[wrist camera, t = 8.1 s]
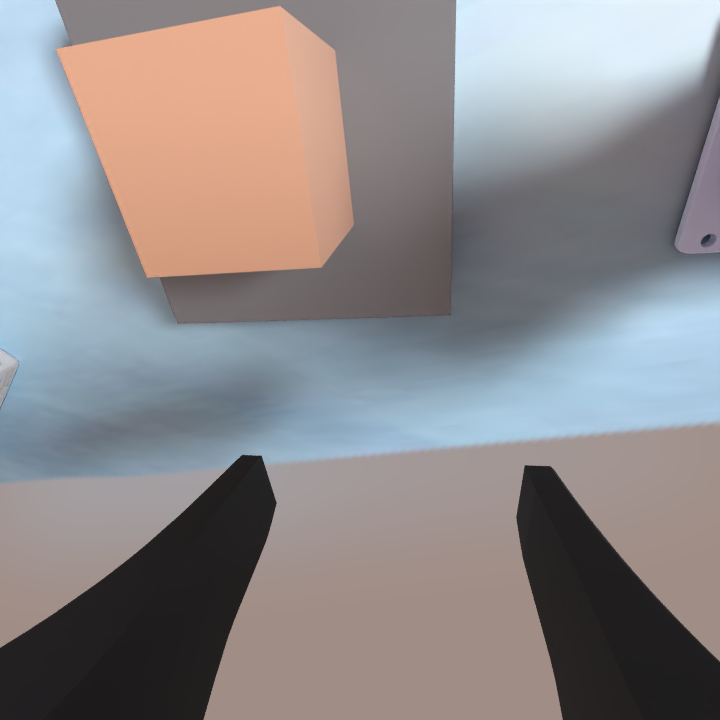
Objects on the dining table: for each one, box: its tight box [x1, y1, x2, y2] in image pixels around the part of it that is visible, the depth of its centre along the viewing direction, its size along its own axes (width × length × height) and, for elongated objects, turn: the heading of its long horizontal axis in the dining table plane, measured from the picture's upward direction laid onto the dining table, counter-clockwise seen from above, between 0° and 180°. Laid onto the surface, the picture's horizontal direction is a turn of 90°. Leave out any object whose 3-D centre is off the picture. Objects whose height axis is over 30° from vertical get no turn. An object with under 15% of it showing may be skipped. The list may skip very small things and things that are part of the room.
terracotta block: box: [56, 6, 354, 278], centre depth 11 cm, size 5×5×5 cm
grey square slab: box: [55, 0, 456, 324], centre depth 15 cm, size 12×12×4 cm
